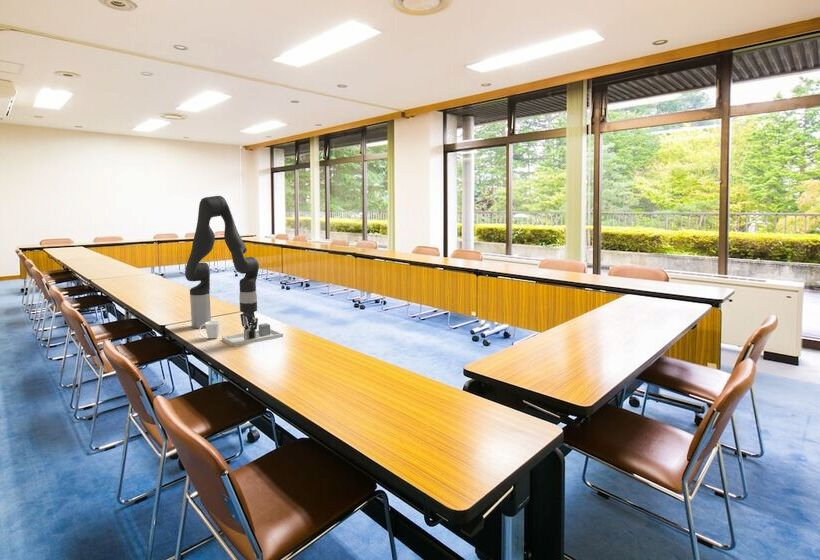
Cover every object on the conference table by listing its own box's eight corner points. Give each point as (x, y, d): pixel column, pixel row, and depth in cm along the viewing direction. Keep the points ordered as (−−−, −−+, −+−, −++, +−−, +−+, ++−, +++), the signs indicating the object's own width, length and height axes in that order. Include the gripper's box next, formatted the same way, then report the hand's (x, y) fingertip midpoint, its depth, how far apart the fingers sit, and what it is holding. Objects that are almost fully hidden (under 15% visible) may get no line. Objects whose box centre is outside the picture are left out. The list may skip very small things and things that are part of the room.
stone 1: (244, 340, 215) (243, 329, 214) (252, 338, 217) (252, 328, 217) (247, 342, 212) (247, 331, 211) (255, 340, 214) (255, 330, 214)
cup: (216, 341, 214) (216, 324, 213) (196, 340, 215) (195, 323, 214) (224, 337, 221) (223, 321, 220) (204, 336, 222) (203, 320, 221)
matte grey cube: (258, 334, 225) (258, 324, 225) (266, 333, 228) (266, 323, 227) (262, 336, 223) (262, 326, 222) (270, 334, 225) (270, 324, 225)
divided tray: (222, 340, 215) (221, 336, 215) (270, 332, 232) (270, 328, 231) (233, 347, 206) (233, 342, 206) (282, 337, 222) (282, 333, 222)
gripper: (233, 299, 214) (235, 335, 217) (247, 304, 204) (248, 342, 207) (249, 297, 219) (250, 332, 222) (263, 302, 209) (264, 339, 212)
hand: (249, 337), depth 214 cm, fingers closed on stone 1, 4 cm apart
